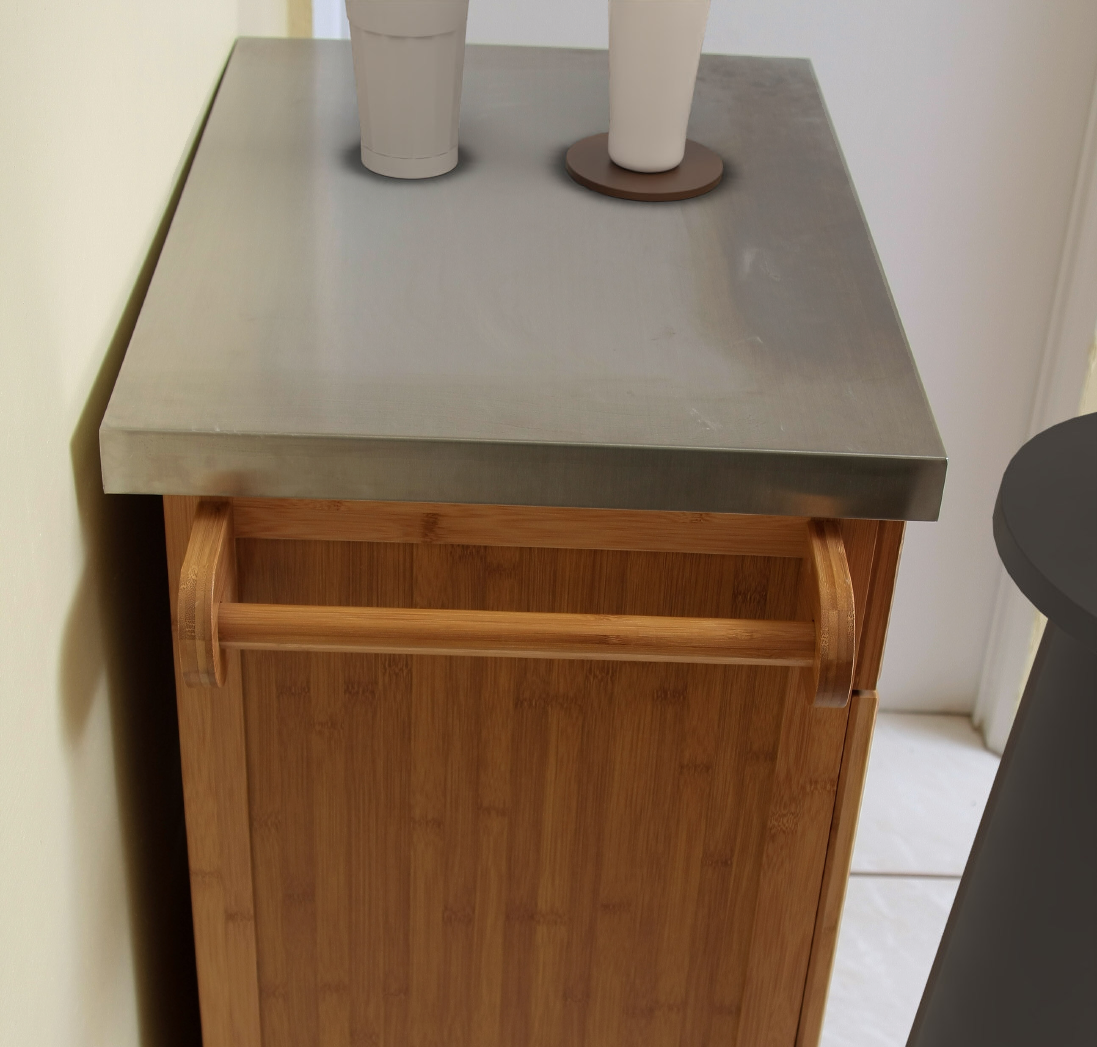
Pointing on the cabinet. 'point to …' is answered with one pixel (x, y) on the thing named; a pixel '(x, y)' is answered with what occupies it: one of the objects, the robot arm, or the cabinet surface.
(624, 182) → the coaster
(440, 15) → the cup
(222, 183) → the cabinet surface
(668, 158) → the white tumbler
